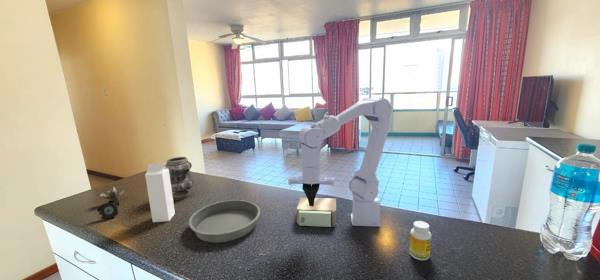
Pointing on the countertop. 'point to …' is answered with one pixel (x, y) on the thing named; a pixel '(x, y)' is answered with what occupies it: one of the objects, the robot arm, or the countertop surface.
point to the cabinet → (317, 206)
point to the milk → (159, 192)
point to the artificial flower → (109, 205)
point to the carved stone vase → (180, 177)
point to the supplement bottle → (420, 241)
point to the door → (316, 218)
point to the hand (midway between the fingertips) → (311, 204)
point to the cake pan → (224, 220)
